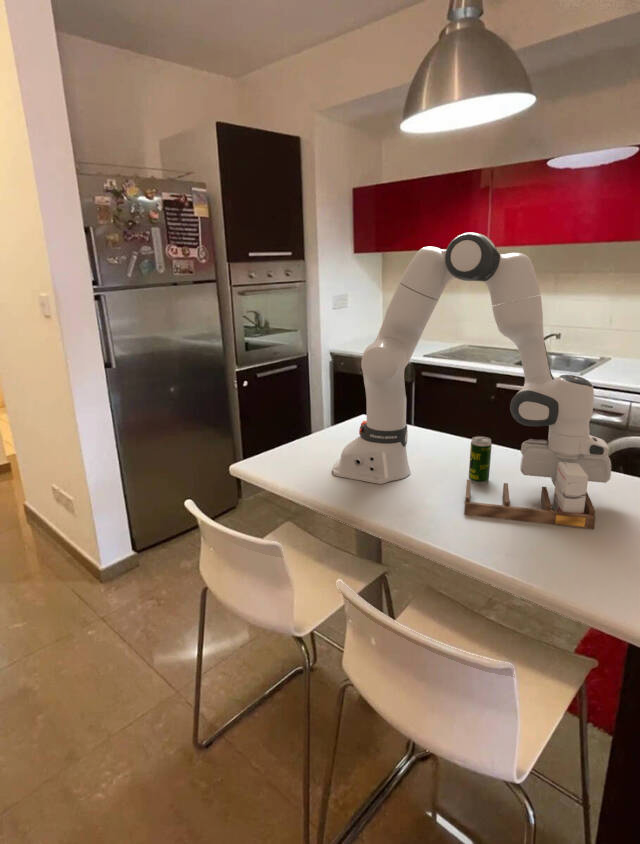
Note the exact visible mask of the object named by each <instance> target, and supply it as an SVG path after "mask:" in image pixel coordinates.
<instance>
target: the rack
mask: <svg viewBox="0 0 640 844" xmlns="http://www.w3.org/2000/svg"><path fill="white" fill-rule="evenodd" d="M471 485H472V482H471V480H469V478H468V479H466V487H465V500H464V513H463V514H464V515H465V516H466V515H467V516H476V517H482V518H483V517H485V518H492V519H494V518H495V519H502V520H510V521H519V522H528V523H537V524H545V525H554V526H555V525H556V526H563V527H572V528H582V529H588V530H594V529H595V523H596V510H595V507H594V505H593V503H592V500H591V498H590V495H589V493H588V491H586V499H585V507H584V514H580V513H570V512H561V511H555V510H552V507H553V505H552V503H551V499H550V495H549V492H548V488H547V486H542V487H541V493H540V501H539V502H540V506H541V509H540V508H532V507H521V506H512V505H510V504H511V502H510V501H511V500H510V492H509V491H510V490H509V482H503V487H502V504H493V503H484V502H477V501H470V499H471V489H472V488H471V487H472V486H471Z"/></svg>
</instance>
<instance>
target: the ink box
mask: <svg viewBox="0 0 640 844" xmlns="http://www.w3.org/2000/svg"><path fill="white" fill-rule="evenodd" d="M588 483H589V481H588V475H587V474H586V473H585V471H584V470H583V469H582V467H581V466H580V465H579V463H568V462H558V469H557V477H556V485H555V486H554V494H553V502H552V507H553V509H554V511H561V512H570V513H580V514H584V507H585V499H586V491H587V490H588ZM587 492H588V491H587Z"/></svg>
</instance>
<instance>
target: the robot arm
mask: <svg viewBox="0 0 640 844" xmlns="http://www.w3.org/2000/svg"><path fill="white" fill-rule="evenodd" d="M537 277H538V276H537V273H536V271H535V267H534V265H533V263H532V261H531V258H530V257H529V256H528V255H526V254H525V253H521V252H510V253H505V254H503V253H499V251H498V250H497V247H496V245H495V243H494V242H493V241H492V240H491V239H490V238H489V237H488V236H486V235H484V234H483V233H477V232H464V233H462V234H459V235H457V236H456V237H455V238H453V239H452V240H451V241H450V243H449V244H448V245H447V248H446V249H442V248H440V247H436V246H424V247H422V248H420V249H419V250H418V251H416V253H415V255H414V256H413V258H412V259H411V261H409V264H408V265H407V267H406V269H405V271H404V273H403V274H402V276H401V278H400V280H399V283H398V285H397V287H396V288H395V291H394V293H393V296H392V298H391V300H390V302H389V304H388V306H387V308H386V311H385V314H384V318H383V322H382V324H381V327H380V328H379V332H378V334H377V337H376V338H375V340H374V341H373V342H372V343H371V344H369V345H368V346H367V347H366V348H365V350H364V351H363V354H362V356H361V361H360V363H361V364H360V365H361V371H362V373H363V374H362V377H363V383H364V388H365V398H366V420H363V421H362V422H361V423H360V426H359V430H358V432H359V436H358V437H356V438H355V439H354V440H352V441H351V442H349V443H348V444H347V445H345V446H344V448H343V449H342V451H341V453H340V458H339V459H337V461H336V462H335V463H333V466H332V474H333V475H334V476H336V477H341V478H346V479H352V480H357V481H363V482H366V483H367V482H368V483H373V484H378V485H382V484H386V483H389V482H392V481H397V480H402V479H405V478H407V477H408V476H409V475H410V473H411V469H410V465H409V460H408V455H407V453H408V452H407V444H408V437H409V436H408V435H409V434H408V425H407V395H406V386H405V384H406V383H405V369H406V367H407V366H408V364H409V362H410V360H411V359H412V356H413V353H414V352H415V350H416V348H417V346H418V343H419V341H420V339H421V337H422V334H423V332H424V330H425V328H426V327H427V324H428V322H429V320H430V318H431V316H432V314H433V312H434V311H435V309H436V306H437V304H438V302H439V301H440V298H441V295H442V293H443V292H444V290H445V288H446V287H447V285H448V284H449V282H451V281H452V280H453V279H457V280H461V281H464V282H483V283H484V284H485V285H486V286H487V288H488V292H489V295H490V301H491V306H492V307H491V308H492V312H493V317H494V318H493V319H494V320H495V324H496V327H497V329H498V331H499V332H500V334H502V335H503V336H504V337H506V338H507V339H509V340H510V341H511V342H513V343H514V345H515V346H516V347H517V349H518V352H519V355H520V356H519V357H520V361H521V366H522V370H523V371H522V372H523V374H524V384H523V387H522V388H521V389H520V390H519V391H518V392H517V393H516V394H515V395H514V396H513V397H512V398H511V401H510V404H509V410H510V414H511V416H512V417H513V419H514V421H516V422H517V423H519V424H520V425H523V426H525V427H548V436H547V437H548V438H547V439H533V438H529V439H528V440H525V441H523V442H522V443H521V444H520V445H521V447H520V453H521V455H522V456H521V460H520V472H521V473H522V475H523V476H529V477H531V476H532V477H538V478H539V477H540V478H541V477H542V478H550V479H551V483H552V484H553V486H554V487H555V485H556V477H557V469H558V462H568V463H579V465H580V466H581V467H582V469H583V470H584V471H585V473H586V474H587V475H588V482H595V483H603V484H606V483H608V482H609V481H610V480H611V476H612V475H611V474H612V461H611V459H610V457H609V453H610V447H609V445H608V444H607V442H606V441H605V440H604V439H603V438H599V437H597V436H593V435H591V434H590V432H591V431H590V421H591V419H592V416H593V412H594V411H593V410H594V402H595V401H594V400H595V397H594V396H595V390H594V387H593V385H592V383H591V382H590V381H589V380H588V379H586V378H584V377H581V376H578V375H573V374H560V375H559V376H558V377H556V378H554V375H553V374H552V372H551V366H550V363H549V357H548V351H547V347H546V343H545V342H546V341H545V337H544V317H543V316H544V315H543V313H544V312H543V303H542V297H541V296H542V295H541V289H540V285H539V284H540V283H539V280H538V278H537Z"/></svg>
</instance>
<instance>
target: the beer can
mask: <svg viewBox="0 0 640 844" xmlns="http://www.w3.org/2000/svg"><path fill="white" fill-rule="evenodd" d="M492 445H493V444H492V439H491V438H490V437H487V436H473V437H472V438H471V442H470V450H469V451H470V454H469V466H468V467H469V468H468V480H471V483H472V484H473V483H474V484H477V485H479V484H480V485H484V484H487V483H488V482H489V479H490V472H491V471H490V470H491V468H490V467H491V457H492V448H493V447H492Z"/></svg>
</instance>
